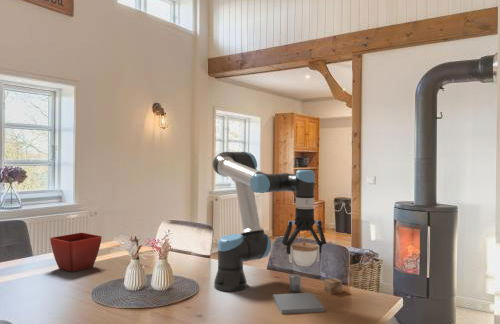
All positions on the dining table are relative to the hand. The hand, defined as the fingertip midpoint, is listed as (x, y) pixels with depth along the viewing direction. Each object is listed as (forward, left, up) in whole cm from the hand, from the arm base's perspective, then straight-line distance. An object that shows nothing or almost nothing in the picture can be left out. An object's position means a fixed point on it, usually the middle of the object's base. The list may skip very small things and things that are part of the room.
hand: (303, 261), depth 157 cm
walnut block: (+17, +12, -18) cm, 27 cm away
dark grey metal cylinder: (0, +14, -17) cm, 23 cm away
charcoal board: (-3, -1, -17) cm, 18 cm away
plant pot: (-108, +66, -18) cm, 128 cm away
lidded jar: (0, 0, -1) cm, 1 cm away
